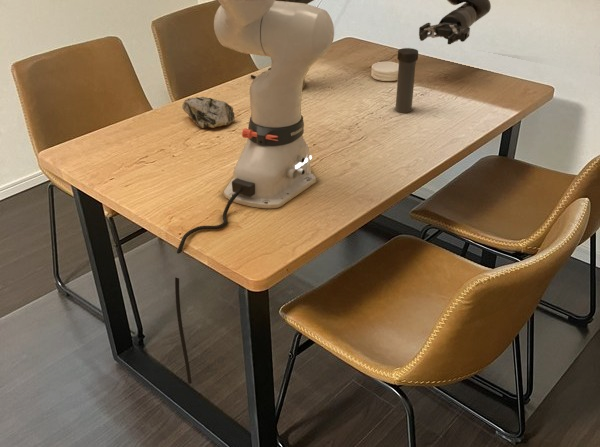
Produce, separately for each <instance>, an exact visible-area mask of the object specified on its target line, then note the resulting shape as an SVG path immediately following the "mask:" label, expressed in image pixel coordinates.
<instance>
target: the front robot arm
mask: <svg viewBox="0 0 600 447" xmlns="http://www.w3.org/2000/svg"><path fill="white" fill-rule="evenodd" d="M217 1H218V3H219V4H220V5H219V6H218V8H217V10H216V11H215V14H214V18H213V30H214V34H215V36H216V39H217V40H218V43H219V44H220V45H221V46H223V47H225V48H227V49H230V50H232V51H235V52H238V53H241V54H245V55H253V56H259V57H260V56H261V57H269V58H270V60H271V66H270V68H271V69H270V70H268V69H267V70H265V71H266V72H265V71H262V72H263V73H262V72H261V73H262V74H261V73H260V74H258V75H256V78H253V80H252V82H251V84H250V86H249V101H250V102H249V103H250V117H249V123H248V126H247V128H245V127H244V128H243V129H242V131H241V137H242V138H244V139H247V140H246V142H245V144H244V146H243V148H242V151H241V153H240V154H239V157H238V159H237V161H236V163H235V166H234V167H233V168H234V169H233V177H232V178H231V180H230V181H229V183H228V184H227V186H226V187H225V188H224V190H223V196H224V198H225V199H228V202H226V203H227V204H226V205H225V208H224V210H223V211H222V212H223V213H222V221H223V222H222V223H221V224H216V225H200V226H196V227H194V228H191V229H190V230H187V231H186V233H184V234H183V236H182V238H181V240H180V242H179V244H178V247H177V250H176V254H181V253H182V251H183V248H184V245H185V243H186V241H187V239H188V238H189V236H191V235H192V234H194V233H196V232H199V231H205V230H207V231H209V230H211V231H213V230H214V231H215V230H220V229H223V228H225V227H226V226H227V225H228V218H227V214H228V213H229V210H230V208H231V206H232V204H233V203H237V204H239V205H244V206H248V207H252V208H258V209H278V208H280V207H283V205H285V204H286V203H288V202H289V201H292V199H294V198H295V197H296V196H298V195H299V194H301V193H303V192H304V191H305V190H307V189H308V188H309V187H311V186H313V185H314V184H316V182H317V176H316V175H315V174H314V173H312V167H311V160H312V155H311V154H310V147H309V145H308V144H307V142H306V140H305V138H304V133H305V132H304V131H305V130H304V127H305V121H304V116H303V115H302V98H303V96H302V95H303V89H302V86H303V81H304V78H305V79H306V76H307V74H308V73H309V70H310V69H311V68H312V66H313V65H315V63H317V62H318V61H319V60H321V59H322V58H323V57H324V56H326V55H327V54H328V52H329V51H330V50H331V47H332V46H333V42H334V38H335V26H334V22H333V20H332V17H331V15H330V14H329V12H328V11H327V10H326V9H323V8H321V7H317V6H315V5H311V4H309V3H308V4H305V3H295V2H284V1H276V0H217ZM174 285H175V286H174V289H175V291H174V292H175V307H176V317H177V318H176V319H177V324H178V331H179V337H180V342H181V347H182V348H181V349H182V352H183V358H184V364H185V371H186V375H187V376H186V378H187V384H189V385H190V384H192V383H193V381H192V374H191V368H190V362H189V356H188V350H187V345H186V339H185V332H184V328H183V320H182V312H181V299H180V278H179V277H174Z"/></svg>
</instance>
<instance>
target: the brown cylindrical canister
mask: <svg viewBox="0 0 600 447" xmlns="http://www.w3.org/2000/svg"><path fill="white" fill-rule="evenodd" d="M398 64H399V67H398V80H396V81H397V83H396V94H395V95H396V97H395V111H396V112H397V113H401V114H409V113H411V112H412V111H413V98H414V88H415V78H416V65H417V61H414V62H403V61H399V60H398Z"/></svg>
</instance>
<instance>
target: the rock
mask: <svg viewBox="0 0 600 447" xmlns="http://www.w3.org/2000/svg"><path fill="white" fill-rule="evenodd" d="M181 109H182V110H183V111H184V113H186V114H187V115H188V117H190V118H191V120H192V122H193V123H194V124H195V125H196V126H198V128H202V129H208V128H211V129H213V128H216V127H222V126H229V125H230V124H231V123H233V122H234V121H235V118H236V116H235V112H234V107H233V106H231V105H230V104H229V103H228V102H226V101H223V100H219V99H215V98H211V97H205V96H200V97H191V98H186V99H185V100H184V101H183V103H182V105H181Z"/></svg>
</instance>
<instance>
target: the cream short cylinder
mask: <svg viewBox="0 0 600 447" xmlns="http://www.w3.org/2000/svg"><path fill="white" fill-rule="evenodd" d="M398 67H399V62H395V61H378V62H375V63H373V64H372V65H371V70H370V71H371V72H370V76H371V78H372V79H374V80H376V81H381V82H395V81H398Z"/></svg>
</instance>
